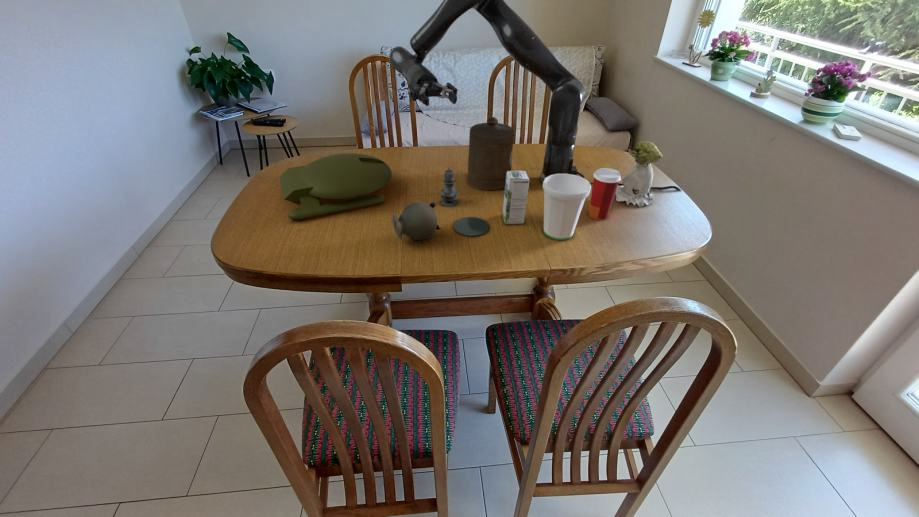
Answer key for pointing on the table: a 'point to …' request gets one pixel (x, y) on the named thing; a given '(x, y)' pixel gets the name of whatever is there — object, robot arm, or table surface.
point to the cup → (563, 204)
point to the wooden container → (490, 154)
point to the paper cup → (603, 192)
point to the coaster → (471, 226)
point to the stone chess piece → (449, 190)
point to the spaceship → (334, 184)
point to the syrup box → (515, 197)
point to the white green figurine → (639, 175)
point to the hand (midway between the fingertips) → (441, 101)
